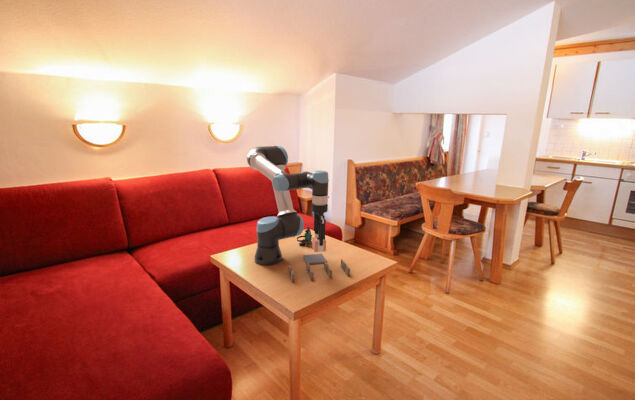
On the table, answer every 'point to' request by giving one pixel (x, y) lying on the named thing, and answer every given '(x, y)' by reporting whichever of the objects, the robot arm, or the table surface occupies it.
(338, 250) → the table surface
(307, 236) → the binoculars
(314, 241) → the letter cube
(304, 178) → the robot arm
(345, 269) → the bay rack
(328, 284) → the table surface
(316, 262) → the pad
